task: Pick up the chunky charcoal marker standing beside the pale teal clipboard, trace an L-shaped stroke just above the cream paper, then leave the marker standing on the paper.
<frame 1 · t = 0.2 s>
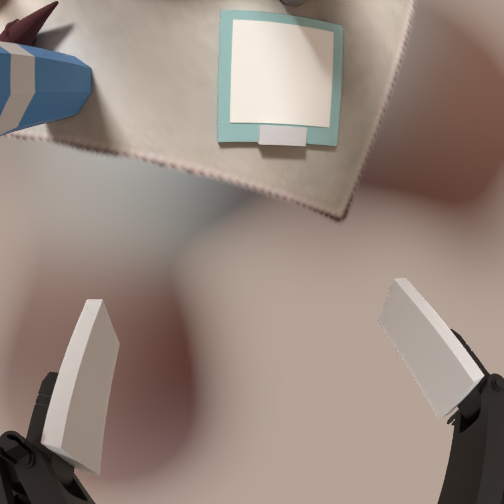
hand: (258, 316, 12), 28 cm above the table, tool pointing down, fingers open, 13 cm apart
clipboard: (281, 76, 30), on the table
water bottle: (64, 88, 25), on the table
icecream: (29, 41, 19), on the table
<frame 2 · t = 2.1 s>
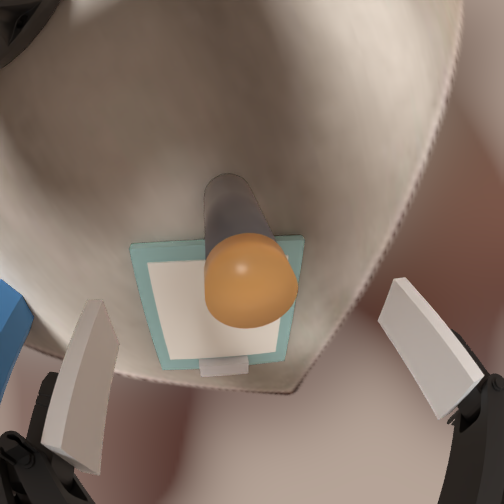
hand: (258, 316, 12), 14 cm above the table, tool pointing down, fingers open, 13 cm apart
clipboard: (220, 312, 30), on the table
water bottle: (8, 305, 25), on the table
marker: (227, 196, 23), on the table
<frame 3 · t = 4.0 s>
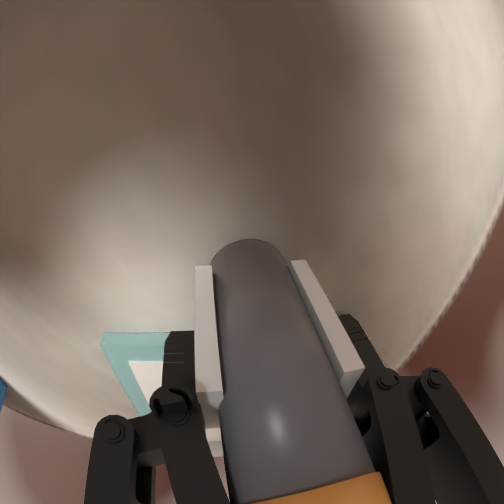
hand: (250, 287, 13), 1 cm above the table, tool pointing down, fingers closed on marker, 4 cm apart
clipboard: (232, 401, 21), on the table
marker: (247, 273, 14), on the table, touching gripper
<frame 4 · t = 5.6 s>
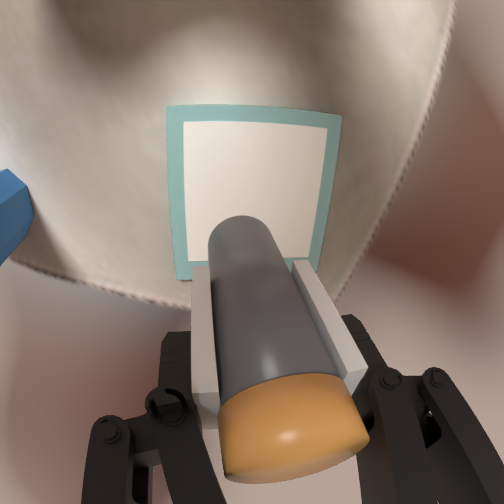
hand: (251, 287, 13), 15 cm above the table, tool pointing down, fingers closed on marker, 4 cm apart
clipboard: (252, 196, 27), on the table
water bottle: (6, 205, 22), on the table
marker: (240, 245, 17), point 11 cm above the table, touching gripper
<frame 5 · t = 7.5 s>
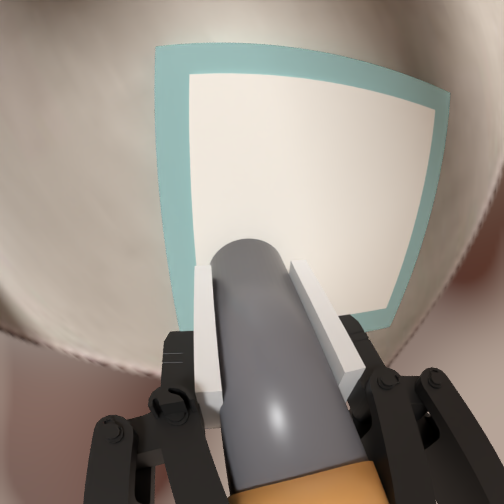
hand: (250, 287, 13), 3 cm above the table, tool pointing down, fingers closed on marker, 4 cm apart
clipboard: (313, 220, 15), on the table
marker: (246, 272, 15), point 1 cm above the table, touching clipboard, gripper
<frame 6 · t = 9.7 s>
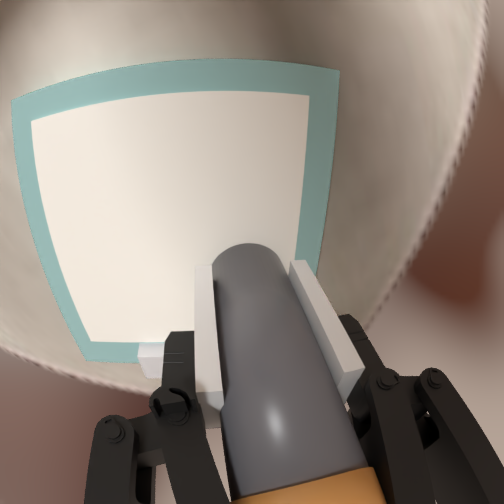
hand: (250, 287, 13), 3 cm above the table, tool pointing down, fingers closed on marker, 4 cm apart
clipboard: (170, 241, 14), on the table
marker: (246, 276, 15), point 1 cm above the table, touching gripper
when the fingers open (3 cm above the table, at t = 11.2 s): marker stays where it is, resting on clipboard.
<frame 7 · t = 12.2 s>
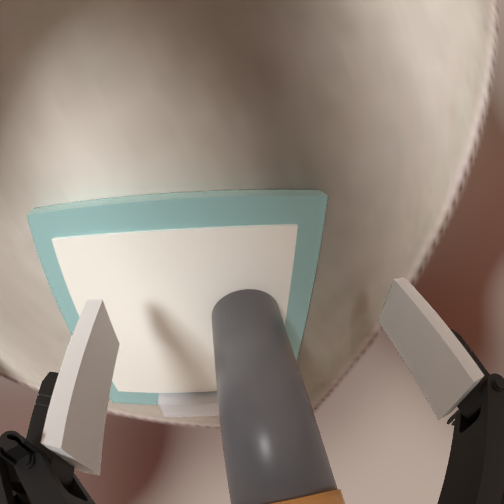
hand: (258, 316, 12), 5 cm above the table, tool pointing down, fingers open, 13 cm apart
clipboard: (182, 326, 18), on the table
marker: (245, 315, 16), point 1 cm above the table, touching clipboard
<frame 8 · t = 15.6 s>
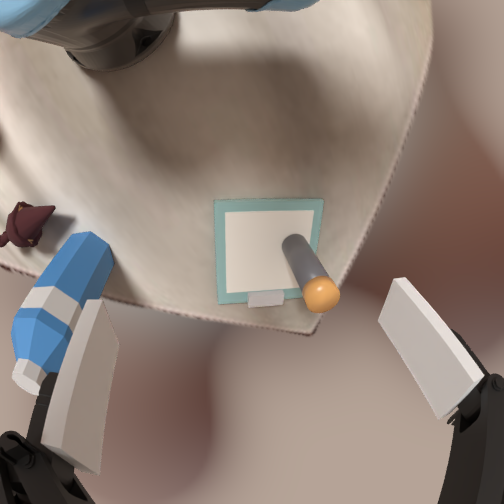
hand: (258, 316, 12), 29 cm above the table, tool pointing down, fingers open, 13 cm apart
clipboard: (266, 252, 44), on the table
water bottle: (89, 255, 40), on the table
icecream: (35, 215, 34), on the table
marker: (294, 245, 43), point 1 cm above the table, touching clipboard
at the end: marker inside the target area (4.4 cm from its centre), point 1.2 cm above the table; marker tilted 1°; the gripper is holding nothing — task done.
